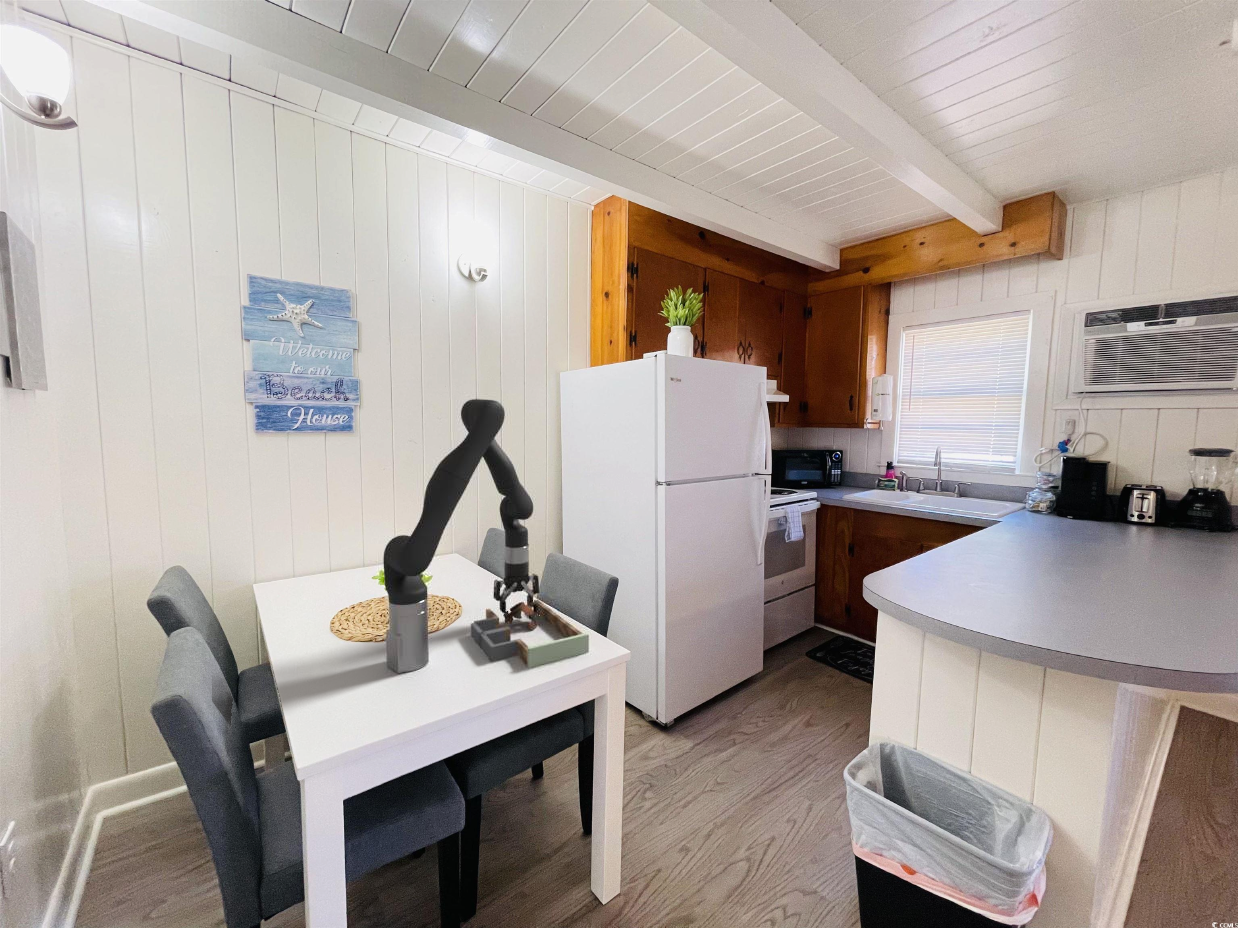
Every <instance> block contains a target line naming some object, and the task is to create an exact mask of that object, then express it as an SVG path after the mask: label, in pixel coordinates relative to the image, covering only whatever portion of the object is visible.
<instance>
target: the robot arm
mask: <svg viewBox="0 0 1238 928" xmlns="http://www.w3.org/2000/svg"><path fill="white" fill-rule="evenodd" d="M505 415H506V413H505V408H504V406H503V405H502V403H500V402H499V401H496V400H493V399H483V398H473V399H469V400H467V401H466V402H464V403H463V405H462V407H461V410H460V417H461V422H462V424H463V426H464V427H465V429H466V430H467V432H468V433H467V435H466V437H464V439H463V440H462V442H460V444H459V445H458V446H456V447H455V448H453V450H451V452H449V453H448V454H447V455H446V456H444V458H443V459H442V460H440V462H439V463H438V465H437V467H436V468H435V469H434V471H433V473H432V475H431V477H430V479H429V481H428V483H427V485H426V487H425V488H426V489H425V492H424V496H423V498H424V499H423V506H422V512H421V516H420V518H419V520H418V523H417V524H416V526H415V528H414V529H413V531H412V533H411V534H410V535H404V534H403V535H401V534H400V535H397V536H395V537H393V538H391V540H389V542H388V543H387V544H386V546H385V548H384V552H383V557H382V559H383V575H384V586H385V587H384V588H385V590H386V592H387V597H388V627H389V628H388V629H386V631H385V646H386V648H385V649H386V651H385V652H386V667H387V668H389V669H391V670H392V671H394V672H395V673H396V674H401V673H405V672H406V673H407V672H411V671H413V672H414V671H417V670H420V669H422V668H423V667H426V665H428V663H429V661H430V659H429V657H430V651H429V650H430V649H429V610H428V609H429V607H428V606H429V604H428V603H429V602H428V600H429V599H428V598H429V597H428V586H427V585H426V583H425V582H424V580H423V578H422V576H421V575H422V573H424V572H425V571H426V570H427V569H428V568H429V566H430V565H431V563H432V561H433V558H434V557H435V554H436V552H437V549H438V547H439V544H440V542H441V539H442V536H443V534H444V532H445V529H446V527H447V525H448V523H449V522H450V520H451V518H452V515H453V514H454V511H455V510H456V508H457V506H458V504H459V502H460V500H461V498H462V497H463V494H464V493H465V492H466V489H467V487H468V485H469V483H470V480H471V479H472V477H473V474H475V471H476V470H477V468H478V466H479V464H480V462H481V461H482V459H483V460H484V462H485V464H486V466H487V468H488V470H489V473H490V475H491V478H492V480H493V483H494V485H495V488H496V490H497V493H499V495H501V496H504V497H503V498H502V499H501V502H500V504H499V514H500V515H499V516H500V520H501V523H502V527H503V531H504V535H505V536H504V541H505V542H504V543H505V544H504V546H505V547H504V551H503V552H504V554H503V555H504V557H503V561H504V565H503V566H504V567H503V568H504V571H503V573H504V575H503V576H504V578H503V579H501V580H498V579H495V580H494V581H493V595H492V597H493V599H494V600H495V601H497V602H499V610H500V612H501V613H503V614H504V613H505V612H506V611H507V601H506V600H507V599H508V597H509V596H511V594H512V593H513V594H514V593H518V592H523V591H525V592H526V594H527V595H526V605H528V604H529V603H531V602H534V596H535V595H537V594H539V593H540V582H539V575H537V574H535V573H532V575H530V566H529V565H530V551H529V532H528V527H526V526H524V525H522V524H521V523H520V520H521V521H525V520H528V519H530V518H531V517H532V515H533V513H534V503H533V499H532V498H531V496H530V495H529V493H528V492H527V491H526V488H524V486H523V485H522V484H521V482H520V480H519V477H518V474H517V472H516V469H515V466H514V464H513V463H512V461H511V459H510V457H509V456H508V455H507V453H505V451H504V450H503V449H502V447H501V446H500V445H499V443H498V442H497V441H496V436H497V435H498V433H499V431H500V430H501V429H502V426H503V424H504V422H505V417H506V416H505ZM529 582H531V583H532V589H531V588H530V587H529V586H528V584H529ZM503 585H504V588H503V589H502V592H501V588H502V587H503Z"/></svg>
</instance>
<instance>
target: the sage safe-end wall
mask: <svg viewBox="0 0 1238 928" xmlns="http://www.w3.org/2000/svg"><path fill="white" fill-rule="evenodd" d="M589 640H590V634H589V633H587V632H585V633H583V634H580V635H576V636H572V637H568V638H566V637H564V638H561V639H556V640H552V641H551V640H550V641H548V642H543V643H539V644H535V645H531V646H528V647H527V665H526V666H527V667H528V669H531V668H534V667H538V666H542V665H544V664H549V663H552V662H557V661H559V660H565V659H569V658H571V657H575V656H579V655H583V654H588V653H589V652H590V651H589V650H590V648H589V646H590V644H589V643H590V641H589ZM568 657H569V658H568Z"/></svg>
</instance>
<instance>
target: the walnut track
mask: <svg viewBox="0 0 1238 928" xmlns="http://www.w3.org/2000/svg"><path fill="white" fill-rule="evenodd" d="M533 602H535V603H537V605H538V613H537V614H538V615H537V616H539V615H540V616H539V617H540V618H541V617H542V618H543V619H544V620H543V619H542V618H541V619H542V620H543V621H544V622H546V623H547V622H548V623H549V624H548V623H547V624H548V625H549V626H550V627H552V628H553V629H554V630H555V631H557V632H558V633H559V634H561V635H562V637H564V638H568V637H572V636H576V635H580V634H584V633H583V632H582V631H581V630H579V629H578V628H577V627H575V626H574V625H572V624H571V623H569V621H567V620H565V619H564V618H563V617H562V616H560V615H559V614H557V613H556V612H555V611H554V610H552V609H551V608H549V607H548V606H547V605H546V604H544V603H543V602H542V601H540V600H539V599H535V600H534V599H533ZM493 617H494V618H495V629H498V628H500V617H499V616H498V615H497V614H496V613H495V612H494V611H493V610H492V609H491V608H486V609H485V619H488V618H493ZM504 628H505V629H506V642H508V641H512V640H511V628H510V627H509V626H504ZM515 640H517V641H518V656H517V657H518V658H519V659H521V661H522V662H523V663H524V665H525V666H527V647H529V645H527V644H526V643H525V642H524V641H523V640H522V639H521V638H518V639H517V638H516V639H515Z"/></svg>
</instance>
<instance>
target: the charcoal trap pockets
mask: <svg viewBox="0 0 1238 928" xmlns="http://www.w3.org/2000/svg"><path fill="white" fill-rule="evenodd" d="M470 627H471V628H470V632H471V634H470V635H471V639H472V640H473V641H474V642H475V643H476V645H477V646H478V647H479V649H481V651H482V652H483V653H484V654H485V657H486V658H488V660H489V661H490V662H491V663H492V662H497V661H501V660H505V659H511V658H513V657H514V658H515V657H518V641H517V640H516V639H513V640H511V641H508V642H506V629H505V628H504V627H505V626H504V627H499V628H498V629H495V618H494V617H493V618H488V619H486V618H485V619H480V620H474V621H473V622H472V623H470Z"/></svg>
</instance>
